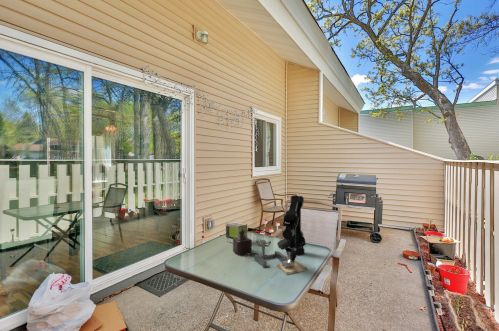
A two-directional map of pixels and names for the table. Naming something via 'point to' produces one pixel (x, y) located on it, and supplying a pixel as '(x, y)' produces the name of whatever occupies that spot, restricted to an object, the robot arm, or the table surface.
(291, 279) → the table surface
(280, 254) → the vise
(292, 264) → the brushed metal step block
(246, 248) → the potted plant
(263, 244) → the mechanical component
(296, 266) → the board
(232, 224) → the tea box
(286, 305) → the table surface
